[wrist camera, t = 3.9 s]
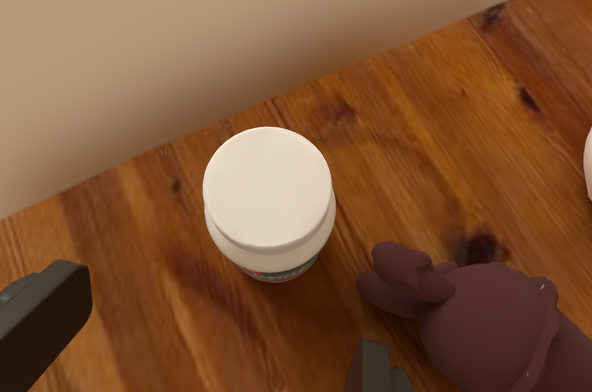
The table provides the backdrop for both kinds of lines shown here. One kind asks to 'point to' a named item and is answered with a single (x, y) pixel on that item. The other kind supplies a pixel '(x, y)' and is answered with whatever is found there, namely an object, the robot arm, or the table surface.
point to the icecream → (482, 322)
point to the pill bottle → (269, 202)
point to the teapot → (588, 164)
